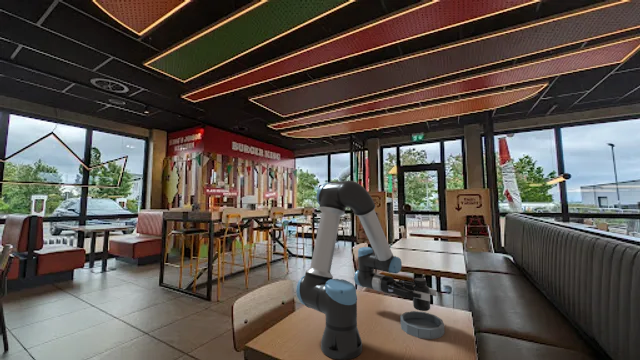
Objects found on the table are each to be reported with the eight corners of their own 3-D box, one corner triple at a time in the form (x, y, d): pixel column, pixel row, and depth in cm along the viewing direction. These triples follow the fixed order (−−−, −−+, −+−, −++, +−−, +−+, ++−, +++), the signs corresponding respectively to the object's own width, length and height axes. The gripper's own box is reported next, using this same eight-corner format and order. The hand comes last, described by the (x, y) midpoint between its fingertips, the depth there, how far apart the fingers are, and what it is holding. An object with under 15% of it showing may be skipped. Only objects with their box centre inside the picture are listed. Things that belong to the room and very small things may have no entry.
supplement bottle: (427, 304, 116) (426, 277, 117) (432, 311, 109) (431, 282, 110) (411, 304, 117) (410, 276, 117) (415, 311, 110) (414, 282, 111)
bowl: (417, 341, 101) (417, 332, 102) (393, 322, 118) (393, 314, 118) (453, 335, 106) (453, 326, 106) (425, 317, 122) (425, 309, 123)
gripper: (394, 286, 133) (441, 297, 117) (372, 297, 118) (423, 312, 103) (393, 271, 133) (440, 280, 117) (372, 280, 119) (423, 292, 103)
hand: (432, 295), depth 110 cm, fingers closed on supplement bottle, 7 cm apart
